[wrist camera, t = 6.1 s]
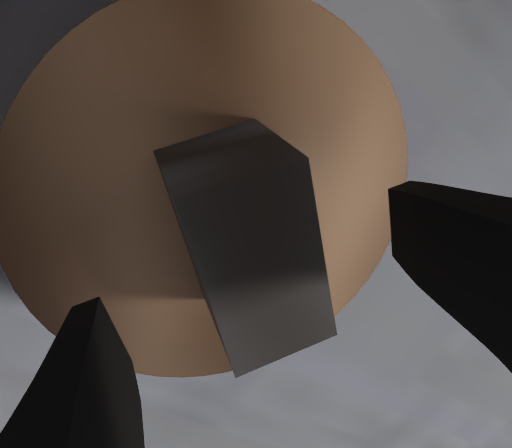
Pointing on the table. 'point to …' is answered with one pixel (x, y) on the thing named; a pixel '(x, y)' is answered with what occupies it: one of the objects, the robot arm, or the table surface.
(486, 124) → the table surface
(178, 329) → the lid
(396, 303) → the table surface
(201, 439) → the table surface
